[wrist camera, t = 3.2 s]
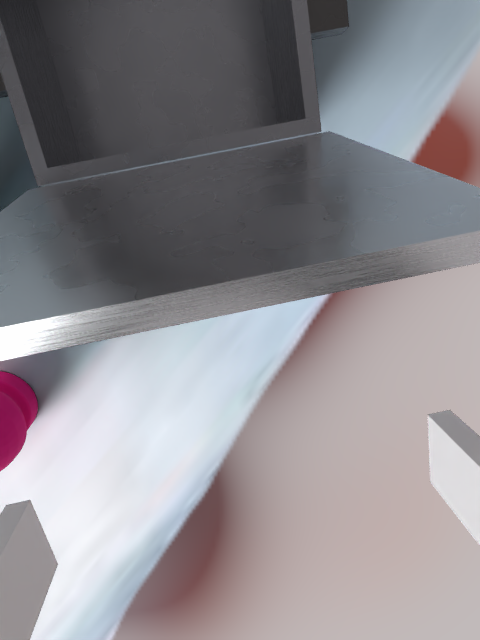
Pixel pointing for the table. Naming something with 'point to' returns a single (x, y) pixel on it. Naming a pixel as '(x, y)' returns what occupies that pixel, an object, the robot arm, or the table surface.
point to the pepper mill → (14, 415)
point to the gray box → (158, 78)
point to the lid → (222, 238)
